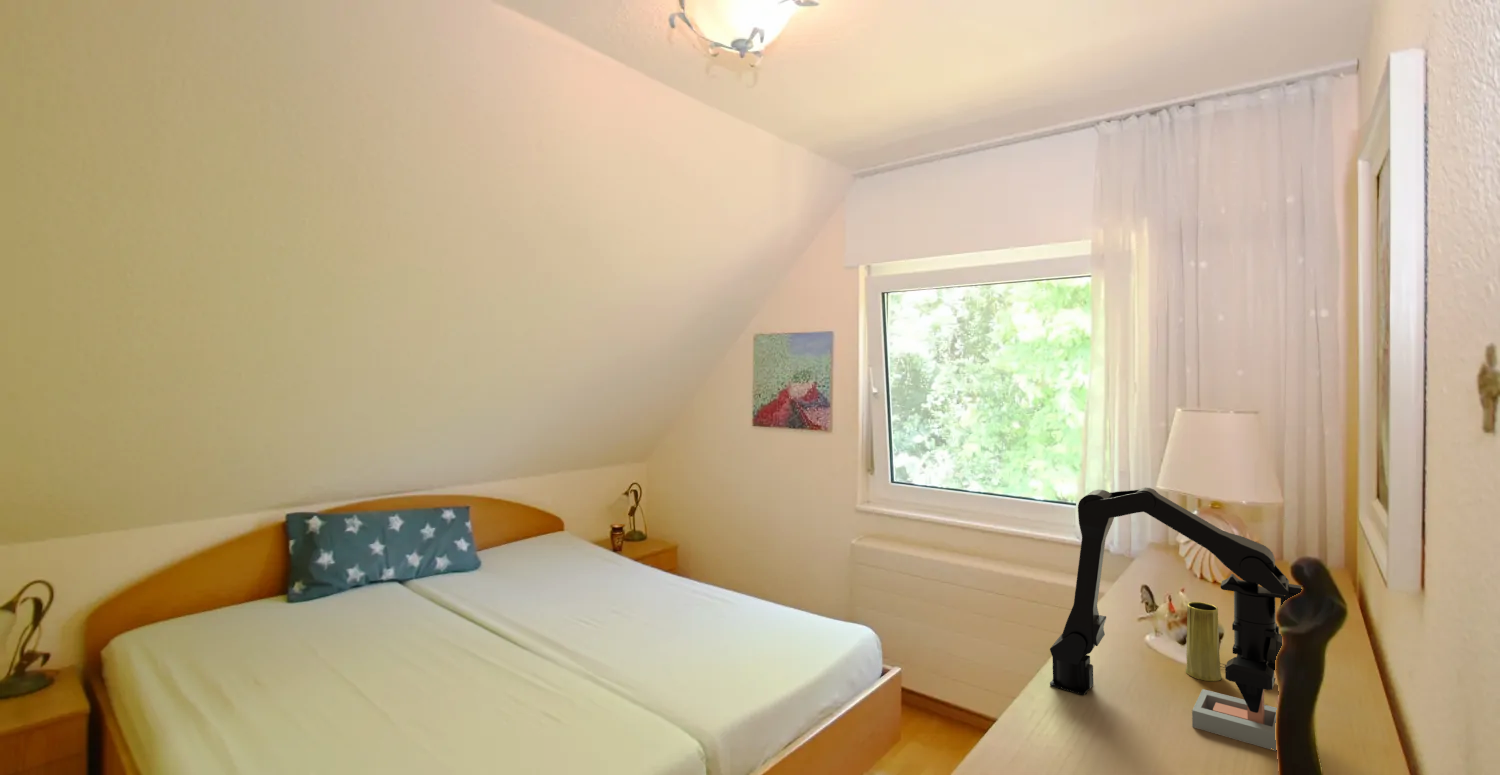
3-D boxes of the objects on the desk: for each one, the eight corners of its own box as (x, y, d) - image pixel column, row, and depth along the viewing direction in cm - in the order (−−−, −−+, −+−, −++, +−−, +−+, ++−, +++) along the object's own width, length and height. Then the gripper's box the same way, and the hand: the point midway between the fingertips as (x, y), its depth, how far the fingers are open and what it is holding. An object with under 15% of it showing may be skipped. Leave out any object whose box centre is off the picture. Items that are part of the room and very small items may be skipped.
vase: (1227, 682, 133) (1226, 612, 132) (1193, 681, 134) (1192, 610, 134) (1212, 669, 139) (1212, 601, 138) (1180, 667, 140) (1179, 600, 140)
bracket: (1264, 723, 116) (1263, 683, 116) (1262, 731, 113) (1261, 691, 113) (1216, 710, 121) (1215, 672, 121) (1212, 718, 118) (1211, 679, 118)
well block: (1192, 727, 118) (1192, 710, 117) (1202, 704, 125) (1202, 688, 125) (1279, 751, 109) (1278, 733, 109) (1284, 726, 117) (1284, 709, 117)
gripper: (1312, 648, 103) (1313, 747, 103) (1318, 613, 116) (1319, 701, 117) (1224, 630, 110) (1225, 723, 111) (1240, 599, 124) (1240, 682, 124)
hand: (1255, 707), depth 115 cm, fingers open, 4 cm apart
